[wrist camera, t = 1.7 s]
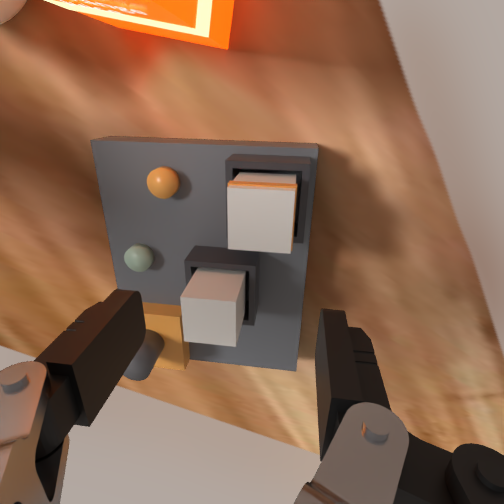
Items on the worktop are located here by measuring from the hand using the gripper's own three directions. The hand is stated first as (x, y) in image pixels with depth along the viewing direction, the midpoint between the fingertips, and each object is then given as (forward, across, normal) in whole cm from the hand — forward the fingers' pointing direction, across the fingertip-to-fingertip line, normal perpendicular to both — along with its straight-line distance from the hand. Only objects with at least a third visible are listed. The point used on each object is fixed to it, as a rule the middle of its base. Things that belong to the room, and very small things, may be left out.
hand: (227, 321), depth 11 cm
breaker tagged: (+14, 0, 0) cm, 14 cm away
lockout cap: (+17, +11, +15) cm, 25 cm away
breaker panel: (+20, +6, +7) cm, 22 cm away
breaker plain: (+14, +3, +8) cm, 17 cm away
